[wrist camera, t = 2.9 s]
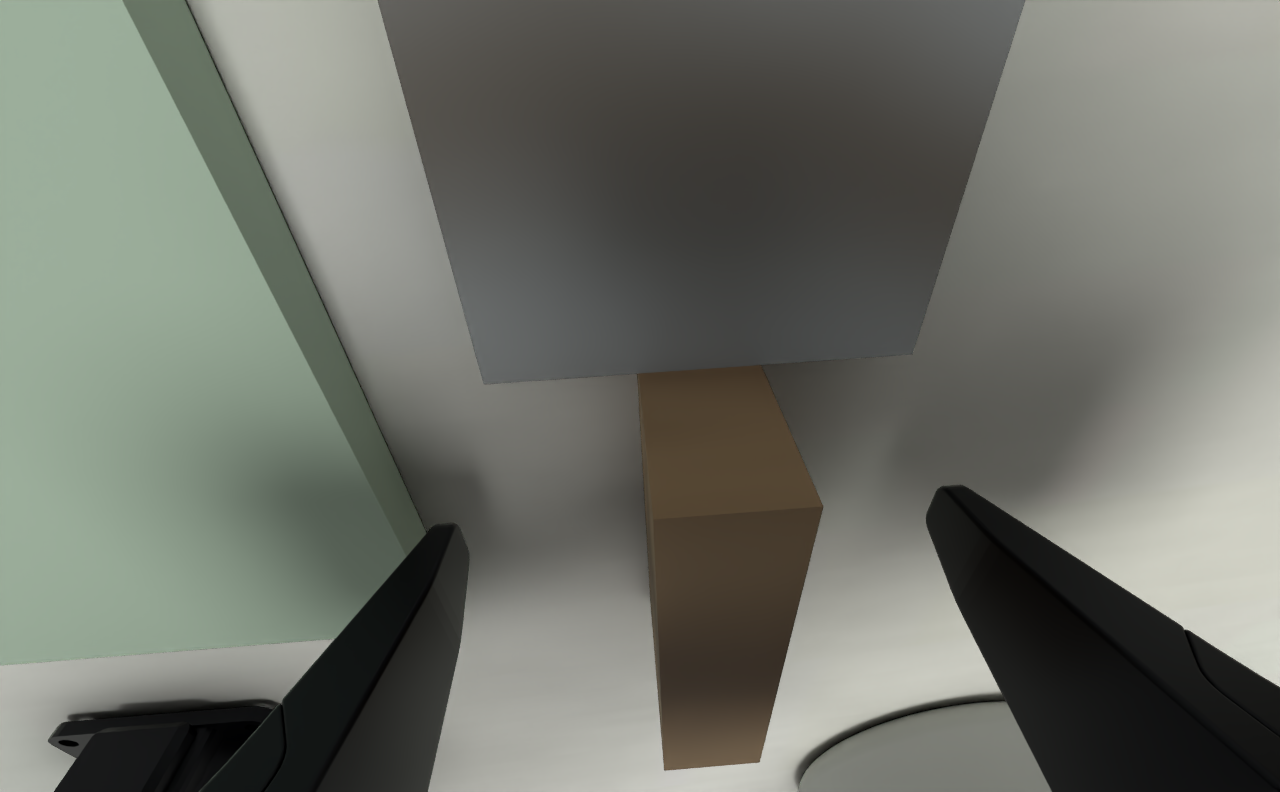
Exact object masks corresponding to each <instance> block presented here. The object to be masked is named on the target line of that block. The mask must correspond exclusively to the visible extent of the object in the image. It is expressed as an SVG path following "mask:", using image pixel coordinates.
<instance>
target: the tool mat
mask: <svg viewBox="0 0 1280 792" xmlns="http://www.w3.org/2000/svg"><path fill="white" fill-rule="evenodd" d="M425 534H426V531H425V529H424V527H423V524H422V522H421V520H420V518H419V516H418V513H417V511H416V509H415V507H414V504H413V502H412V500H411V498H410V496H409V493H408V491H407V489H406V487H405V485H404V482H403V480H402V478H401V476H400V474H399V471H398V469H397V467H396V465H395V463H394V460H393V458H392V456H391V454H390V452H389V449H388V447H387V445H386V443H385V441H384V438H383V436H382V434H381V432H380V430H379V427H378V425H377V423H376V421H375V418H374V416H373V414H372V412H371V410H370V407H369V405H368V403H367V401H366V399H365V396H364V394H363V392H362V390H361V388H360V385H359V383H358V381H357V379H356V377H355V374H354V372H353V370H352V368H351V366H350V363H349V361H348V359H347V357H346V355H345V352H344V350H343V348H342V346H341V344H340V341H339V339H338V337H337V335H336V332H335V330H334V328H333V326H332V324H331V321H330V319H329V317H328V315H327V313H326V310H325V308H324V306H323V304H322V302H321V299H320V297H319V295H318V293H317V291H316V288H315V286H314V284H313V282H312V280H311V277H310V275H309V273H308V271H307V269H306V266H305V264H304V262H303V260H302V257H301V255H300V253H299V251H298V249H297V246H296V244H295V242H294V240H293V238H292V235H291V233H290V231H289V229H288V227H287V224H286V222H285V220H284V218H283V216H282V213H281V211H280V209H279V207H278V205H277V202H276V200H275V198H274V196H273V194H272V191H271V189H270V187H269V185H268V183H267V180H266V178H265V176H264V174H263V171H262V169H261V167H260V165H259V163H258V160H257V158H256V156H255V154H254V152H253V149H252V147H251V145H250V143H249V141H248V138H247V136H246V134H245V132H244V130H243V127H242V125H241V123H240V121H239V119H238V116H237V114H236V112H235V110H234V108H233V105H232V103H231V101H230V99H229V96H228V94H227V92H226V90H225V88H224V85H223V83H222V81H221V79H220V77H219V74H218V72H217V70H216V68H215V66H214V63H213V61H212V59H211V57H210V55H209V52H208V50H207V48H206V46H205V44H204V41H203V39H202V37H201V35H200V33H199V30H198V28H197V26H196V24H195V22H194V19H193V17H192V15H191V13H190V10H189V8H188V6H187V4H186V2H185V0H0V665H13V664H25V663H38V662H51V661H63V660H76V659H88V658H101V657H113V656H126V655H138V654H151V653H163V652H176V651H188V650H201V649H213V648H226V647H239V646H251V645H264V644H276V643H289V642H301V641H314V640H326V639H335V638H336V637H337V636H338V635H339V634H340V633H341V632H342V630H343V629H344V628H345V627H346V626H347V625H348V623H349V622H350V621H351V620H352V619H353V618H354V616H355V615H356V614H357V613H358V612H359V611H360V610H361V608H362V607H363V606H364V605H365V604H366V603H367V601H368V600H369V599H370V598H371V597H372V596H373V595H374V593H375V592H376V591H377V590H378V589H379V588H380V586H381V585H382V584H383V583H384V582H385V581H386V580H387V578H388V577H389V576H390V575H391V574H392V573H393V571H394V570H395V569H396V568H397V567H398V566H399V564H400V563H401V562H402V561H403V560H404V559H405V558H406V556H407V555H408V554H409V553H410V552H411V551H412V549H413V548H414V547H415V546H416V545H417V544H418V543H419V541H420V540H421V539H422V538H423V537H424V536H425Z"/></svg>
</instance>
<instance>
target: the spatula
mask: <svg viewBox="0 0 1280 792" xmlns="http://www.w3.org/2000/svg"><path fill="white" fill-rule="evenodd" d="M378 3H379V7H380V11H381V14H382V18H383V22H384V25H385V29H386V32H387V36H388V40H389V43H390V47H391V50H392V54H393V58H394V61H395V65H396V69H397V72H398V76H399V79H400V83H401V87H402V90H403V94H404V98H405V101H406V105H407V108H408V112H409V116H410V119H411V123H412V126H413V130H414V134H415V137H416V141H417V145H418V148H419V152H420V155H421V159H422V163H423V166H424V170H425V173H426V177H427V181H428V184H429V188H430V192H431V195H432V199H433V202H434V206H435V210H436V213H437V217H438V220H439V224H440V228H441V231H442V235H443V239H444V242H445V246H446V249H447V253H448V257H449V260H450V264H451V268H452V271H453V275H454V278H455V282H456V286H457V289H458V293H459V296H460V300H461V304H462V307H463V311H464V315H465V318H466V322H467V325H468V329H469V333H470V336H471V340H472V343H473V347H474V351H475V354H476V358H477V362H478V365H479V369H480V372H481V376H482V380H483V383H484V384H497V383H512V382H526V381H540V380H554V379H569V378H583V377H597V376H611V375H626V374H637V379H638V396H639V414H640V431H641V448H642V466H643V483H644V500H645V518H646V535H647V552H648V570H649V587H650V602H651V615H652V627H653V639H654V651H655V663H656V676H657V688H658V700H659V712H660V724H661V736H662V749H663V761H664V771H665V770H676V769H688V768H700V767H711V766H723V765H735V764H746V763H758V762H760V758H761V754H762V750H763V746H764V742H765V738H766V734H767V730H768V726H769V722H770V718H771V714H772V710H773V706H774V702H775V698H776V694H777V690H778V686H779V682H780V678H781V674H782V670H783V666H784V662H785V658H786V654H787V650H788V646H789V642H790V638H791V634H792V630H793V626H794V622H795V618H796V614H797V610H798V606H799V602H800V598H801V594H802V590H803V586H804V582H805V578H806V574H807V570H808V566H809V562H810V558H811V554H812V550H813V546H814V542H815V538H816V534H817V530H818V526H819V522H820V518H821V514H822V510H823V505H822V502H821V500H820V498H819V496H818V493H817V491H816V489H815V487H814V484H813V482H812V480H811V478H810V475H809V473H808V471H807V468H806V466H805V464H804V462H803V459H802V457H801V455H800V453H799V450H798V448H797V446H796V443H795V441H794V439H793V437H792V434H791V432H790V430H789V428H788V425H787V423H786V421H785V418H784V416H783V414H782V412H781V409H780V407H779V405H778V403H777V400H776V398H775V396H774V393H773V391H772V389H771V387H770V384H769V382H768V380H767V378H766V375H765V373H764V371H763V368H762V366H761V365H768V364H782V363H797V362H811V361H825V360H839V359H854V358H868V357H882V356H896V355H911V354H913V351H914V348H915V344H916V341H917V338H918V335H919V332H920V329H921V326H922V323H923V319H924V316H925V313H926V310H927V307H928V304H929V301H930V297H931V294H932V291H933V288H934V285H935V282H936V279H937V276H938V272H939V269H940V266H941V263H942V260H943V257H944V254H945V250H946V247H947V244H948V241H949V238H950V235H951V232H952V229H953V225H954V222H955V219H956V216H957V213H958V210H959V207H960V203H961V200H962V197H963V194H964V191H965V188H966V185H967V181H968V178H969V175H970V172H971V169H972V166H973V163H974V160H975V156H976V153H977V150H978V147H979V144H980V141H981V138H982V134H983V131H984V128H985V125H986V122H987V119H988V116H989V113H990V109H991V106H992V103H993V100H994V97H995V94H996V91H997V87H998V84H999V81H1000V78H1001V75H1002V72H1003V69H1004V66H1005V62H1006V59H1007V56H1008V53H1009V50H1010V47H1011V44H1012V40H1013V37H1014V34H1015V31H1016V28H1017V25H1018V22H1019V19H1020V15H1021V12H1022V9H1023V6H1024V3H1025V0H378Z"/></svg>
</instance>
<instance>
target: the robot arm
mask: <svg viewBox="0 0 1280 792" xmlns="http://www.w3.org/2000/svg"><path fill="white" fill-rule="evenodd" d="M926 524H927V528H928V531H929V533H930V536H931V539H932V541H933V544H934V546H935V549H936V552H937V554H938V557H939V560H940V562H941V565H942V568H943V570H944V573H945V575H946V578H947V581H948V583H949V586H950V589H951V591H952V593H953V596H954V598H955V601H956V603H957V605H958V607H959V609H960V611H961V613H962V615H963V617H964V619H965V621H966V623H967V625H968V627H969V629H970V631H971V633H972V635H973V637H974V639H975V641H976V643H977V645H978V647H979V649H980V651H981V653H982V655H983V657H984V659H985V661H986V663H987V665H988V667H989V669H990V671H991V673H992V675H993V677H994V679H995V681H996V683H997V685H998V687H999V689H1000V691H1001V693H1002V695H1003V696H1004V698H1005V700H1006V702H1007V704H1008V706H1009V708H1010V710H1011V712H1012V714H1013V716H1014V718H1015V720H1016V722H1017V724H1018V726H1019V728H1020V730H1021V732H1022V734H1023V736H1024V738H1025V740H1026V742H1027V744H1028V746H1029V748H1030V750H1031V752H1032V754H1033V756H1034V758H1035V760H1036V762H1037V764H1038V766H1039V768H1040V770H1041V772H1042V774H1043V776H1044V778H1045V780H1046V782H1047V783H1048V785H1049V787H1050V789H1051V791H1052V792H1280V687H1279V686H1277V685H1275V684H1274V683H1272V682H1270V681H1269V680H1267V679H1265V678H1264V677H1262V676H1260V675H1259V674H1257V673H1255V672H1254V671H1252V670H1251V669H1249V668H1247V667H1246V666H1244V665H1243V664H1241V663H1239V662H1238V661H1236V660H1235V659H1233V658H1231V657H1230V656H1228V655H1227V654H1225V653H1223V652H1222V651H1220V650H1219V649H1217V648H1216V647H1214V646H1212V645H1211V644H1209V643H1208V642H1206V641H1205V640H1203V639H1202V638H1200V637H1199V636H1197V635H1195V634H1194V633H1192V632H1191V631H1189V630H1184V629H1183V627H1182V626H1181V625H1180V624H1178V623H1177V622H1175V621H1173V620H1172V619H1170V618H1169V617H1167V616H1166V615H1164V614H1163V613H1161V612H1160V611H1158V610H1156V609H1155V608H1153V607H1152V606H1150V605H1149V604H1147V603H1146V602H1144V601H1142V600H1141V599H1139V598H1138V597H1136V596H1135V595H1133V594H1132V593H1130V592H1129V591H1127V590H1125V589H1124V588H1122V587H1121V586H1119V585H1118V584H1116V583H1115V582H1113V581H1112V580H1110V579H1108V578H1107V577H1105V576H1104V575H1102V574H1101V573H1099V572H1098V571H1096V570H1094V569H1093V568H1091V567H1090V566H1088V565H1087V564H1085V563H1084V562H1082V561H1081V560H1079V559H1077V558H1076V557H1074V556H1073V555H1071V554H1070V553H1068V552H1067V551H1065V550H1063V549H1062V548H1060V547H1059V546H1057V545H1056V544H1054V543H1053V542H1051V541H1050V540H1048V539H1046V538H1045V537H1043V536H1042V535H1040V534H1039V533H1037V532H1036V531H1034V530H1033V529H1031V528H1029V527H1028V526H1026V525H1025V524H1023V523H1022V522H1020V521H1019V520H1017V519H1015V518H1014V517H1012V516H1011V515H1009V514H1008V513H1006V512H1005V511H1003V510H1002V509H1000V508H998V507H997V506H995V505H994V504H992V503H991V502H989V501H988V500H986V499H985V498H983V497H981V496H980V495H978V494H977V493H975V492H974V491H972V490H971V489H969V488H967V487H965V486H963V485H950V486H941V487H940V488H938V489H937V491H936V493H935V495H934V498H933V500H932V502H931V505H930V507H929V509H928V511H927V514H926ZM468 571H469V550H468V547H467V545H466V542H465V540H464V537H463V534H462V532H461V529H460V527H459V525H457V524H456V523H447V524H437V525H434V526H433V527H432V528H431V529H430V530H429V531H428V532H427V533H426V534H425V536H424V537H423V538H422V539H421V540H420V541H419V543H418V544H417V545H416V546H415V547H414V548H413V549H412V551H411V552H410V553H409V554H408V555H407V556H406V558H405V559H404V560H403V561H402V562H401V563H400V564H399V566H398V567H397V568H396V569H395V570H394V571H393V573H392V574H391V575H390V576H389V577H388V578H387V580H386V581H385V582H384V583H383V584H382V585H381V586H380V588H379V589H378V590H377V591H376V592H375V593H374V595H373V596H372V597H371V598H370V599H369V600H368V601H367V603H366V604H365V605H364V606H363V607H362V608H361V610H360V611H359V612H358V613H357V614H356V615H355V616H354V618H353V619H352V620H351V621H350V622H349V623H348V625H347V626H346V627H345V628H344V629H343V630H342V632H341V633H340V634H339V635H338V636H337V637H336V638H335V640H334V641H333V642H332V643H331V644H330V645H329V647H328V648H327V649H326V650H325V651H324V652H323V653H322V655H321V656H320V657H319V658H318V659H317V660H316V662H315V663H314V664H313V665H312V666H311V667H310V668H309V670H308V671H307V672H306V673H305V674H304V675H303V677H302V678H301V679H300V680H299V681H298V682H297V683H296V685H295V686H294V687H293V688H292V689H291V690H290V692H289V693H288V694H287V695H286V696H285V697H284V699H283V700H282V704H279V705H277V706H276V707H275V709H274V710H272V709H269V708H265V707H241V708H229V709H217V710H205V711H193V712H181V713H168V714H156V715H144V716H132V717H120V718H108V719H95V720H83V721H71V722H64V723H61V724H60V725H59V726H58V727H57V729H56V730H55V731H54V733H53V734H52V735H51V737H50V738H49V739H48V742H49V743H50V744H51V745H53V746H55V747H57V748H59V749H60V750H62V751H64V752H66V753H68V754H70V755H71V756H73V757H75V758H77V759H76V760H75V762H74V763H73V765H72V766H71V767H70V769H69V770H68V772H67V773H66V775H65V776H64V778H63V779H62V780H61V782H60V783H59V785H58V786H57V788H56V789H55V791H54V792H428V788H429V784H430V779H431V775H432V770H433V766H434V761H435V757H436V752H437V748H438V743H439V739H440V734H441V730H442V725H443V721H444V716H445V712H446V707H447V703H448V698H449V694H450V689H451V685H452V680H453V676H454V671H455V667H456V662H457V658H458V653H459V648H460V642H461V635H462V627H463V617H464V608H465V599H466V589H467V580H468Z"/></svg>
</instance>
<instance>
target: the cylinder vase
mask: <svg viewBox="0 0 1280 792" xmlns="http://www.w3.org/2000/svg"><path fill="white" fill-rule="evenodd" d="M798 792H1052V791H1051V789H1050V787H1049V785H1048V783H1047V782H1046V780H1045V778H1044V776H1043V774H1042V772H1041V770H1040V768H1039V766H1038V764H1037V762H1036V760H1035V758H1034V756H1033V754H1032V752H1031V750H1030V748H1029V746H1028V744H1027V742H1026V740H1025V738H1024V736H1023V734H1022V732H1021V730H1020V728H1019V726H1018V724H1017V722H1016V720H1015V718H1014V716H1013V714H1012V712H1011V710H1010V708H1009V706H1008V704H1007V702H1006V701H1000V702H982V703H972V704H964V705H956V706H950V707H944V708H939V709H934V710H929V711H925V712H921V713H917V714H913V715H909V716H905V717H902V718H898V719H895V720H892V721H889V722H886V723H883V724H880V725H877V726H875V727H872V728H870V729H867V730H865V731H862V732H860V733H858V734H856V735H853V736H851V737H849V738H847V739H845V740H844V741H842V742H840V743H838V744H836V745H835V746H833V747H832V748H830V749H829V750H827V751H826V752H824V753H823V754H822V755H821V756H819V757H818V758H817V759H816V760H815V761H814V762H813V763H812V764H811V765H810V766H809V767H808V769H807V770H806V772H805V773H804V775H803V777H802V779H801V782H800V785H799V789H798Z"/></svg>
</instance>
